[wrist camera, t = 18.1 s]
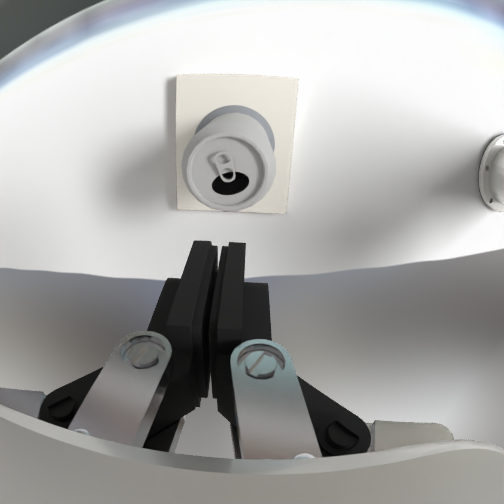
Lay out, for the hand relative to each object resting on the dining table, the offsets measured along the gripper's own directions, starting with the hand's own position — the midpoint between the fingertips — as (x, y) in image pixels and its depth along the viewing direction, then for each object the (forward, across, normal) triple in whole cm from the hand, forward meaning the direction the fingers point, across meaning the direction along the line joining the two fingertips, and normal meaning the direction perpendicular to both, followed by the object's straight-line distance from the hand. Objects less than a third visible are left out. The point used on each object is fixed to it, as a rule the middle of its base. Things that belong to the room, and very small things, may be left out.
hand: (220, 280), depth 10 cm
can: (+26, +1, 0) cm, 26 cm away
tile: (+27, +1, 0) cm, 27 cm away
